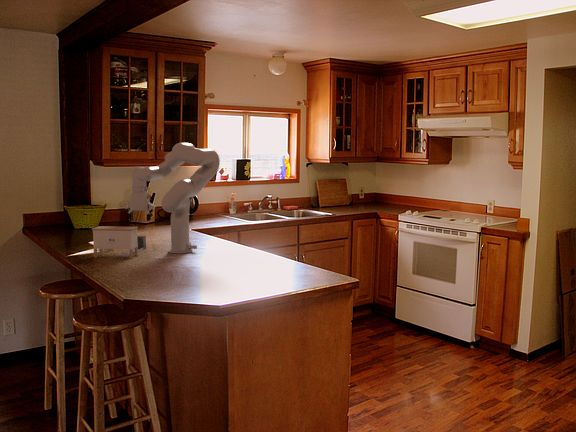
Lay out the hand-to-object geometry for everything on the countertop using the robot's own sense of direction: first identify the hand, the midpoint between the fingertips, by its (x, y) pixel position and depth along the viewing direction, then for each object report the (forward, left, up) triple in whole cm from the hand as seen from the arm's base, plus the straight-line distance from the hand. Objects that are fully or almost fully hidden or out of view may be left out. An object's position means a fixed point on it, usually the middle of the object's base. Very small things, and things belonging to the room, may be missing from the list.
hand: (139, 220), depth 313 cm
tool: (0, +7, -16) cm, 17 cm away
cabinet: (+5, +22, -16) cm, 27 cm away
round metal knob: (0, +22, -16) cm, 27 cm away
